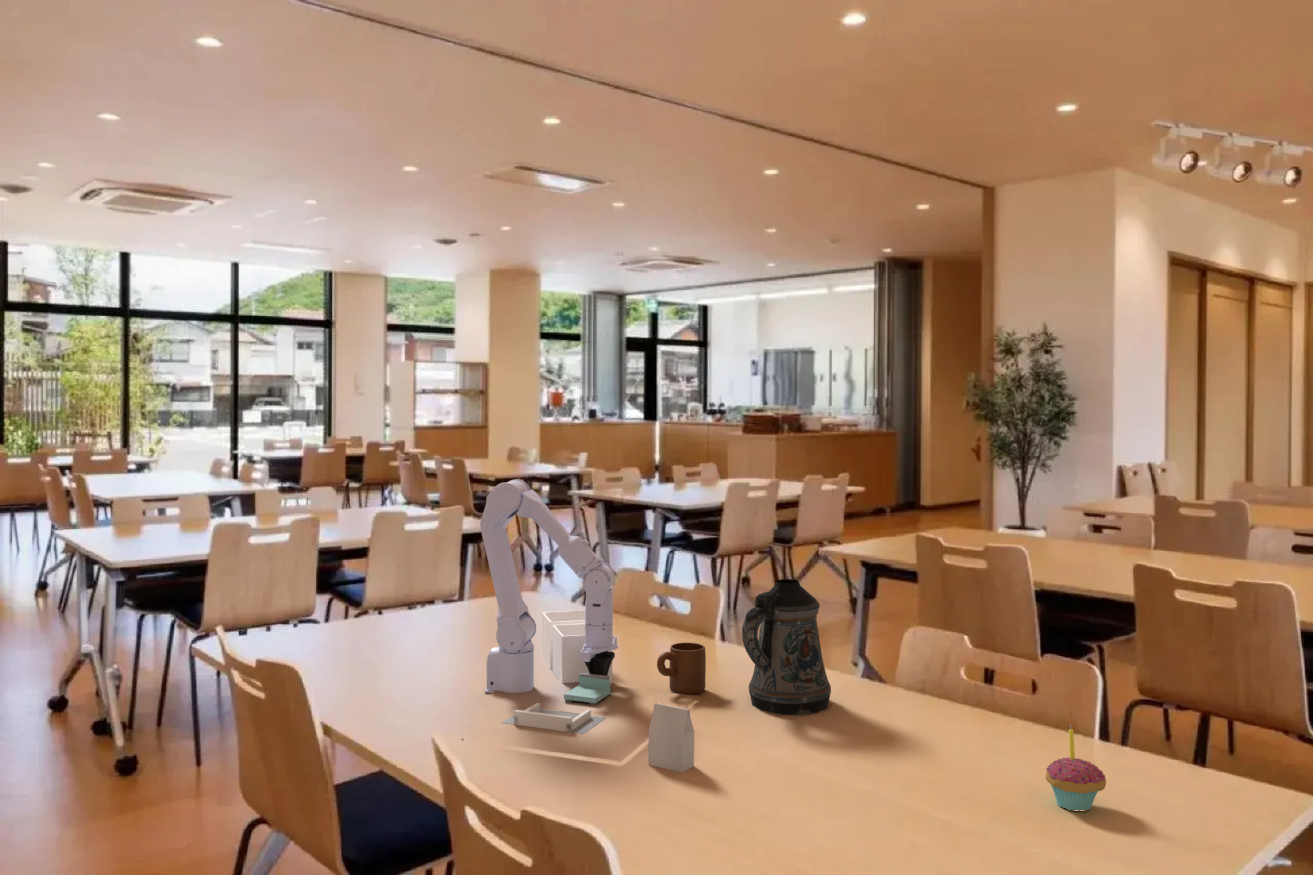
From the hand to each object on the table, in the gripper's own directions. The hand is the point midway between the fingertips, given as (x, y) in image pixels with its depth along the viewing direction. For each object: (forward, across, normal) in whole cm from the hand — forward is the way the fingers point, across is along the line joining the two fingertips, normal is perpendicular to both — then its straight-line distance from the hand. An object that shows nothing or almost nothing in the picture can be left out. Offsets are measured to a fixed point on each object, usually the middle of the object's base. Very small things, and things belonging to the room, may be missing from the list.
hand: (598, 688), depth 212 cm
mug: (+2, +8, -15) cm, 17 cm away
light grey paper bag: (+2, -32, -28) cm, 43 cm away
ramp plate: (+1, -13, 0) cm, 13 cm away
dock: (+1, -20, 0) cm, 20 cm away
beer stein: (+2, +8, -38) cm, 39 cm away
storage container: (+2, +16, +13) cm, 21 cm away
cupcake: (+2, -26, -91) cm, 94 cm away
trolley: (+1, -5, 0) cm, 5 cm away
